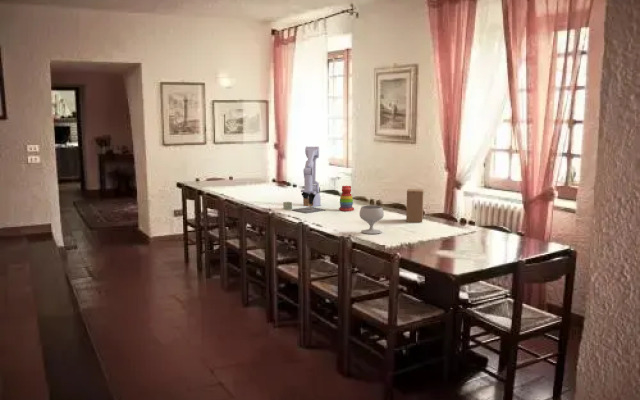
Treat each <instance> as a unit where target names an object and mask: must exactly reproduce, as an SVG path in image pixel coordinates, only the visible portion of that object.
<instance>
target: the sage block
mask: <svg viewBox="0 0 640 400" xmlns="http://www.w3.org/2000/svg"><path fill="white" fill-rule="evenodd" d="M282 209H283V210H286V211H287V210H288V211H289V210H293V203H292V201H284V202H283V207H282Z"/></svg>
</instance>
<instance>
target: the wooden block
mask: <svg viewBox="0 0 640 400" xmlns="http://www.w3.org/2000/svg"><path fill="white" fill-rule="evenodd" d="M405 213H406V219H405V222H406V223H420V222H422V223H423V221H424V220H423V219H424V217H423V215H424V189H421V188H407V190H406V212H405Z"/></svg>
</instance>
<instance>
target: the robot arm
mask: <svg viewBox="0 0 640 400" xmlns="http://www.w3.org/2000/svg"><path fill="white" fill-rule="evenodd" d="M304 150H305V151H304V153H305V156H306V158H307V160H306V161H305V165H304V168H303V170H302V171H303V172H302V173H303V179H304V182H303V183H304V185H303V186H304V189H300V192H301V196H302V199H305V198H309V202H310V204H313V206H312V207H317V206H322V203H321V199H322V198H321V194H320V183H319V182H318V181H317V180H316V170H317V169H316V168H317V167H316V166H317V164H316V163H317V159H319V157H320V147H319V146H307V145H306V147H305V149H304Z"/></svg>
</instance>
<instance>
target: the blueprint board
mask: <svg viewBox="0 0 640 400" xmlns="http://www.w3.org/2000/svg"><path fill="white" fill-rule="evenodd" d="M292 211H293V212H298V213H302V214H312V213H318V212H323V211H326V208H325V209H324V208H320V207H315V206H305V207H301V208H300V207H299V208H294V209H293V208H292V209H291V212H292Z"/></svg>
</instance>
